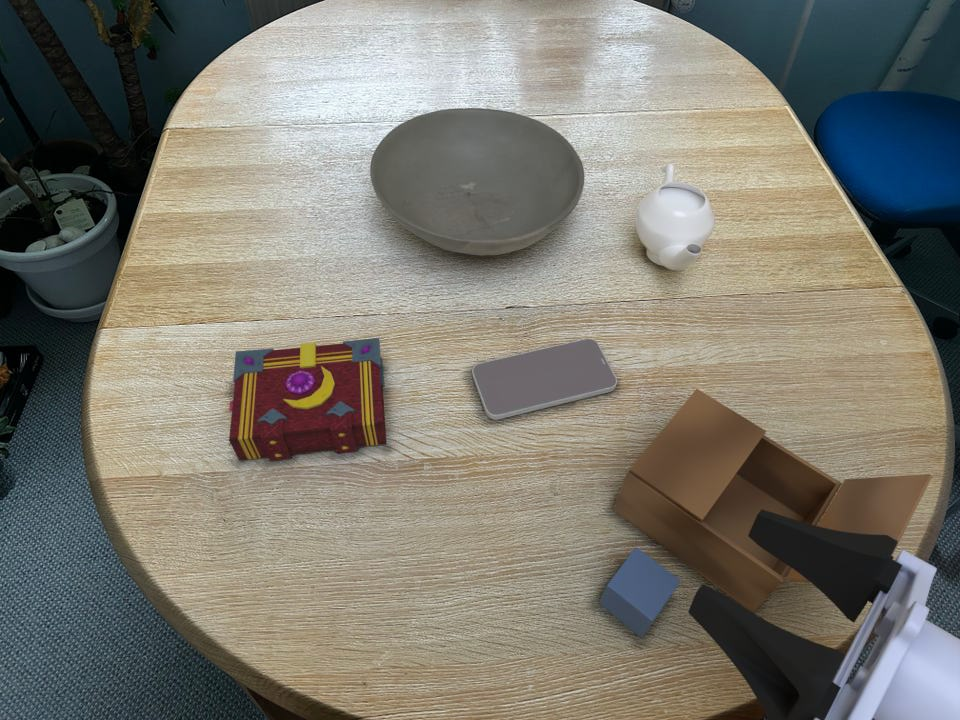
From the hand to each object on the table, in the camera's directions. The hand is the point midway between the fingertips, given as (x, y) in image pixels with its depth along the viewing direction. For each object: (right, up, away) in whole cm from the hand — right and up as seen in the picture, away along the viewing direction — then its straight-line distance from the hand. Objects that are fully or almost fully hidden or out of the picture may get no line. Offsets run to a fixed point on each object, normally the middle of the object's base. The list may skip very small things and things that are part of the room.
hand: (726, 558), depth 39 cm
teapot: (+10, +25, +49) cm, 56 cm away
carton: (+8, -3, +26) cm, 27 cm away
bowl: (-15, +31, +53) cm, 63 cm away
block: (-1, -10, +20) cm, 23 cm away
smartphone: (-7, +9, +35) cm, 37 cm away
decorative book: (-33, +6, +32) cm, 46 cm away
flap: (+15, -1, +13) cm, 20 cm away
